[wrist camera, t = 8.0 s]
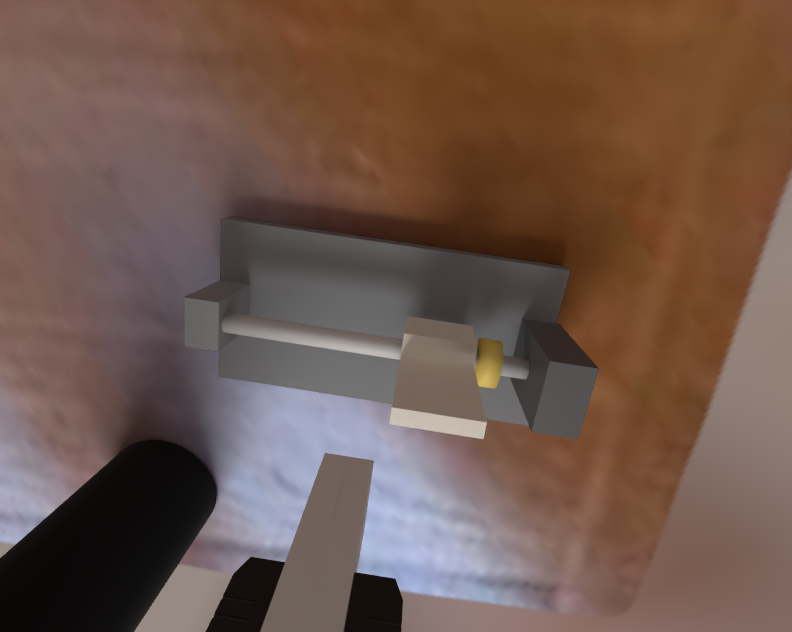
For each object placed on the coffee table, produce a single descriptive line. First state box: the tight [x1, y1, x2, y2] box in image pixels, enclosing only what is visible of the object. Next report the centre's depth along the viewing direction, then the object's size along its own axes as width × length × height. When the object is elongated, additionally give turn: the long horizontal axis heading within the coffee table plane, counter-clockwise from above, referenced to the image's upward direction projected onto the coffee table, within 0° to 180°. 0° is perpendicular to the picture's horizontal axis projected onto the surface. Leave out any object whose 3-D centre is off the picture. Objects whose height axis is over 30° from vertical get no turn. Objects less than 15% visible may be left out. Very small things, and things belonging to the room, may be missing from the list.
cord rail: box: [184, 217, 599, 439], centre depth 27 cm, size 22×11×8 cm, turn 82°
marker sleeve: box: [390, 316, 487, 439], centre depth 23 cm, size 4×3×9 cm
